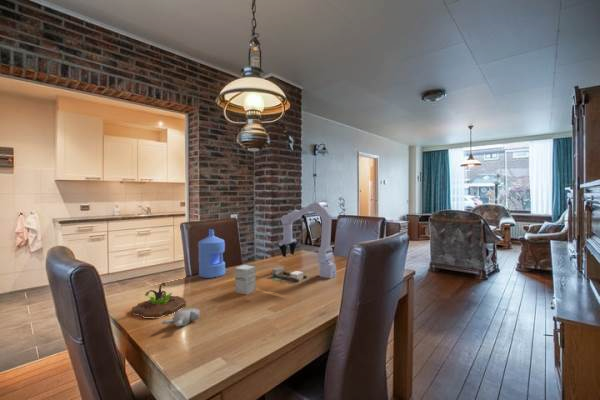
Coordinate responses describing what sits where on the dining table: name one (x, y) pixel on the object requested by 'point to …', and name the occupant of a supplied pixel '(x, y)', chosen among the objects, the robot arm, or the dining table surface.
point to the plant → (159, 304)
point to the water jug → (211, 256)
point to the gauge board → (281, 274)
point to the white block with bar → (296, 275)
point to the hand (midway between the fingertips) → (288, 255)
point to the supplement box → (245, 279)
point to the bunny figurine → (183, 317)
